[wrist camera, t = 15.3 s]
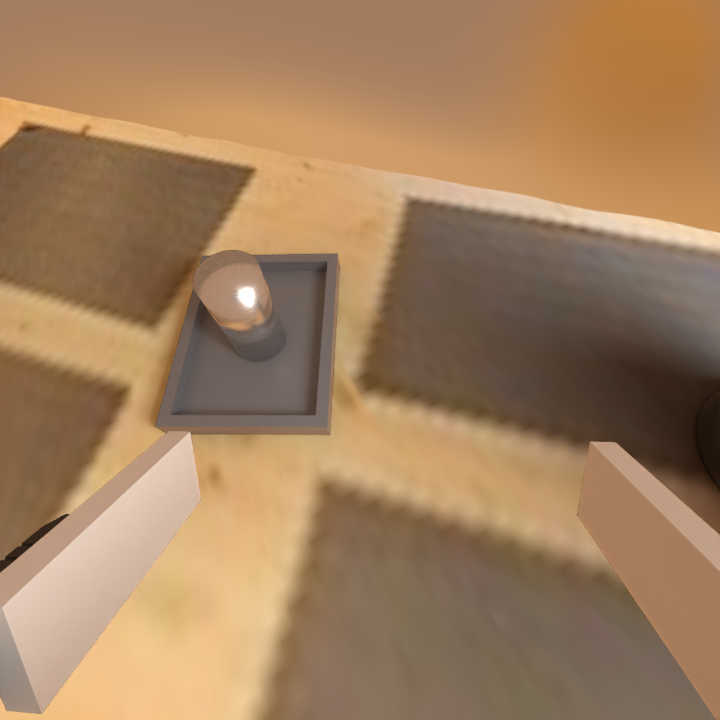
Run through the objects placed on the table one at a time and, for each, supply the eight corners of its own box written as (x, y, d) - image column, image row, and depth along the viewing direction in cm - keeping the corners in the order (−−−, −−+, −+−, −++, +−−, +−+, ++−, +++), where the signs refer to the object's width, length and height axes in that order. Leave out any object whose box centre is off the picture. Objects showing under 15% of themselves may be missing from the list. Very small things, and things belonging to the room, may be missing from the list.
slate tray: (339, 267, 49) (337, 253, 47) (330, 434, 39) (327, 427, 37) (210, 269, 50) (202, 255, 48) (167, 433, 40) (155, 426, 38)
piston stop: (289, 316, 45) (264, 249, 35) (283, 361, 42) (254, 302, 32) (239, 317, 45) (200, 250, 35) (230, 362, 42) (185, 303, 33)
